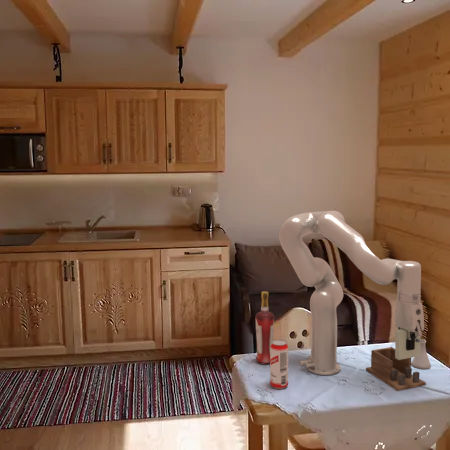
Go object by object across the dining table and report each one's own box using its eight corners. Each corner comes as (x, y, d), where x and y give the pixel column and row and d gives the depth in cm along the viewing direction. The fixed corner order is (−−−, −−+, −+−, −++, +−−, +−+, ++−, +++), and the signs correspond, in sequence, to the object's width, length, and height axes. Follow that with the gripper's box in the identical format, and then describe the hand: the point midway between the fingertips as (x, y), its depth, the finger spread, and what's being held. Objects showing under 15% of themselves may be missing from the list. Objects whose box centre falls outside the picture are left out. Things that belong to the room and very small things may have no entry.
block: (400, 360, 175) (400, 332, 173) (395, 357, 177) (395, 330, 176) (421, 356, 178) (422, 329, 176) (416, 353, 180) (416, 326, 179)
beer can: (276, 391, 175) (276, 346, 172) (266, 384, 180) (266, 340, 178) (291, 387, 177) (292, 343, 175) (281, 380, 183) (281, 337, 181)
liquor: (254, 358, 203) (254, 290, 199) (272, 357, 203) (272, 289, 200) (256, 365, 196) (256, 295, 192) (275, 365, 196) (275, 294, 192)
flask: (432, 370, 190) (433, 344, 189) (412, 369, 192) (413, 343, 190) (429, 362, 197) (430, 337, 196) (409, 361, 199) (410, 336, 197)
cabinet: (397, 390, 174) (398, 368, 173) (365, 370, 191) (366, 349, 190) (425, 385, 178) (426, 363, 177) (392, 365, 195) (393, 345, 194)
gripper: (434, 301, 169) (432, 354, 171) (402, 290, 184) (401, 339, 186) (415, 304, 166) (414, 358, 169) (385, 293, 181) (384, 342, 184)
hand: (407, 348), depth 177 cm, fingers closed on block, 2 cm apart
